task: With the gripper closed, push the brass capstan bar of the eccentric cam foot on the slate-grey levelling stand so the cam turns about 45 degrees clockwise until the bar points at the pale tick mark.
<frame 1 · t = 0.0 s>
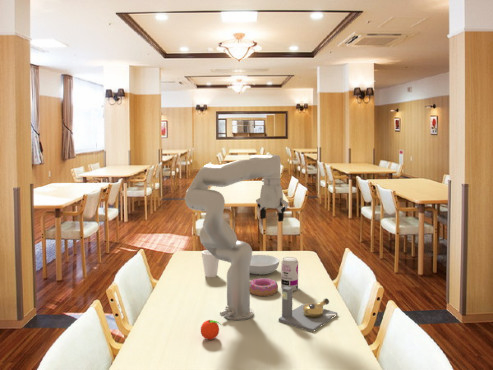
hand: (271, 219, 202), 37 cm above the table, tool pointing down, fingers open, 9 cm apart
serving bowl: (260, 272, 245), on the table
foam cup: (211, 275, 239), on the table
clementine: (211, 339, 167), on the table
white soda can: (289, 289, 219), on the table
donut: (262, 292, 215), on the table
stand: (308, 318, 185), on the table
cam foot: (318, 306, 188), point 4 cm above the table, hinge at 0.0°
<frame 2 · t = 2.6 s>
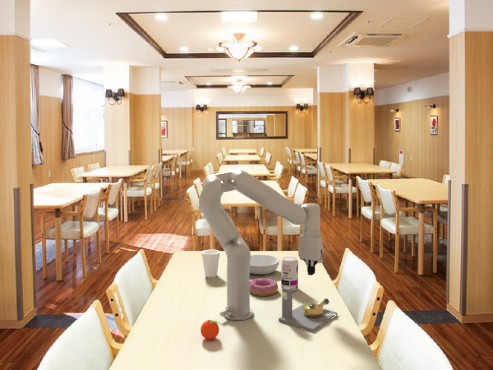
hand: (311, 274, 192), 16 cm above the table, tool pointing down, fingers closed
nothing on the table moved.
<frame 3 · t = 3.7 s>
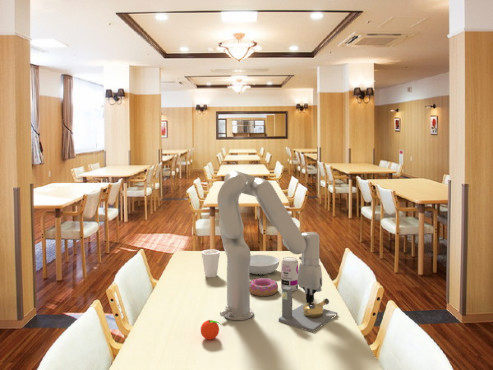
hand: (309, 302, 194), 3 cm above the table, tool pointing down, fingers closed
nothing on the table moved.
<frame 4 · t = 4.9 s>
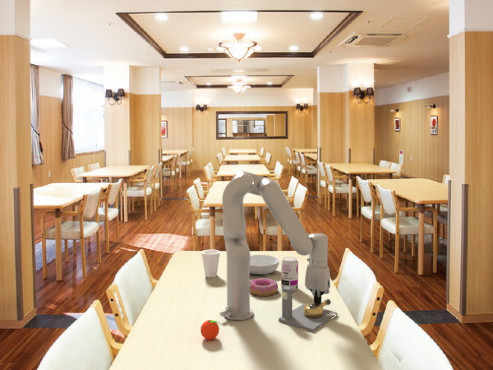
hand: (317, 304, 191), 3 cm above the table, tool pointing down, fingers closed
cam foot: (318, 306, 188), point 4 cm above the table, hinge at -4.1°, touching gripper
everything else where it was.
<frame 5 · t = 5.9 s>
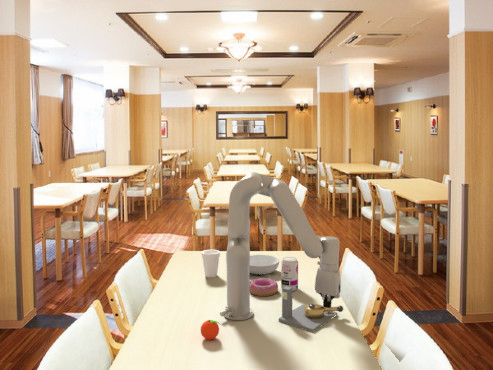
hand: (327, 308, 188), 3 cm above the table, tool pointing down, fingers closed
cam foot: (324, 309, 185), point 4 cm above the table, hinge at -44.5°, touching gripper
everything else where it was.
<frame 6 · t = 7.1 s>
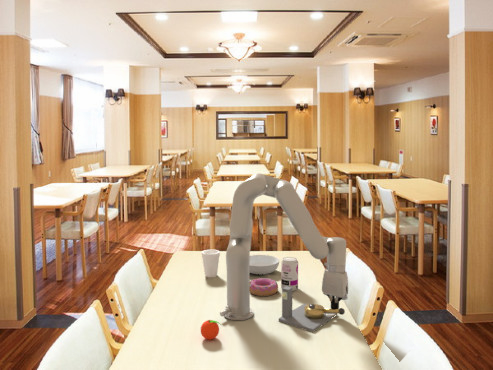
hand: (334, 310, 186), 3 cm above the table, tool pointing down, fingers closed
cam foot: (324, 310, 184), point 4 cm above the table, hinge at -57.5°, touching gripper
everything else where it was.
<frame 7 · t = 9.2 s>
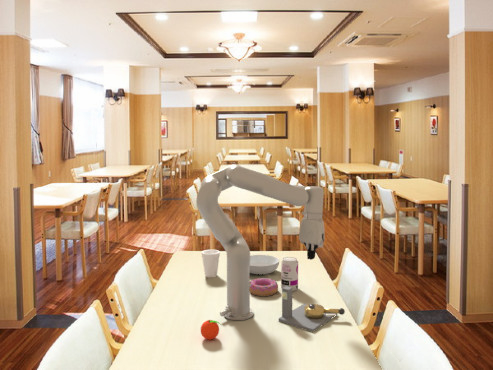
hand: (311, 258, 189), 23 cm above the table, tool pointing down, fingers closed
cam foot: (324, 310, 184), point 4 cm above the table, hinge at -57.5°
everything else where it was.
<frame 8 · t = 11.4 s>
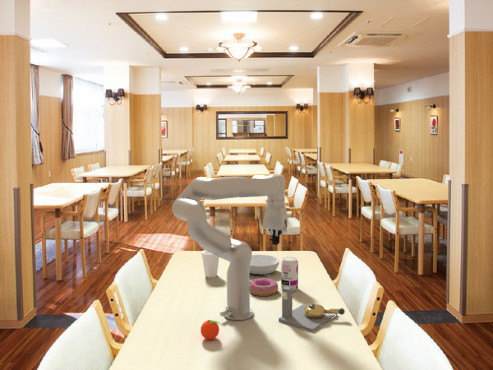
hand: (275, 244, 197), 27 cm above the table, tool pointing down, fingers closed
nothing on the table moved.
at the end: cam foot at -58° (first picture: +0°) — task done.
